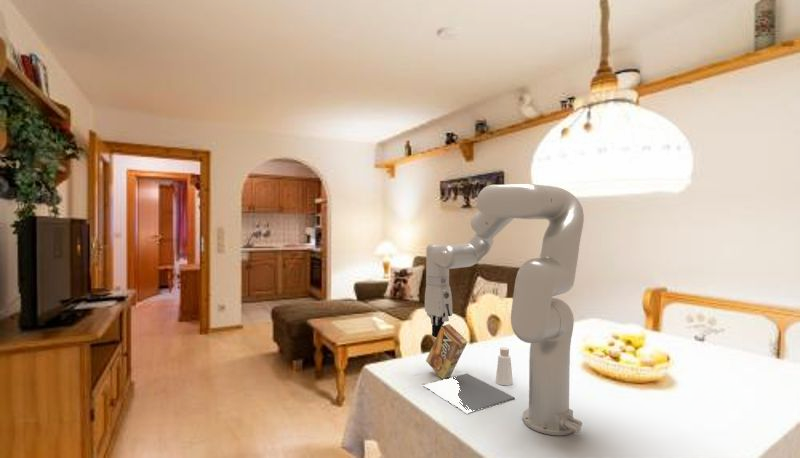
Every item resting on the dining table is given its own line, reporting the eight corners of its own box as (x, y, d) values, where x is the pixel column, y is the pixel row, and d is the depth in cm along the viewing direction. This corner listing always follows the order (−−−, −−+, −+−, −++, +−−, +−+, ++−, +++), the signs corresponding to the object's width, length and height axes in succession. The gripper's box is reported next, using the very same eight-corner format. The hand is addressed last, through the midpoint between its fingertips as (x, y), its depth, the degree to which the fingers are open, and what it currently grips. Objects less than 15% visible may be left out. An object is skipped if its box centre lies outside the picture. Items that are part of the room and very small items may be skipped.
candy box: (450, 376, 129) (468, 341, 123) (442, 380, 126) (460, 344, 120) (433, 358, 134) (449, 323, 129) (424, 361, 132) (441, 325, 126)
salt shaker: (493, 383, 123) (493, 349, 123) (497, 377, 128) (498, 344, 128) (511, 387, 121) (511, 351, 121) (514, 381, 126) (515, 346, 126)
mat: (514, 398, 113) (514, 397, 113) (466, 414, 104) (466, 412, 104) (466, 374, 131) (466, 373, 131) (422, 385, 122) (422, 384, 122)
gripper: (460, 283, 125) (460, 340, 126) (433, 277, 138) (433, 329, 138) (442, 285, 121) (441, 344, 122) (415, 279, 134) (415, 332, 135)
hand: (437, 336), depth 130 cm, fingers closed
